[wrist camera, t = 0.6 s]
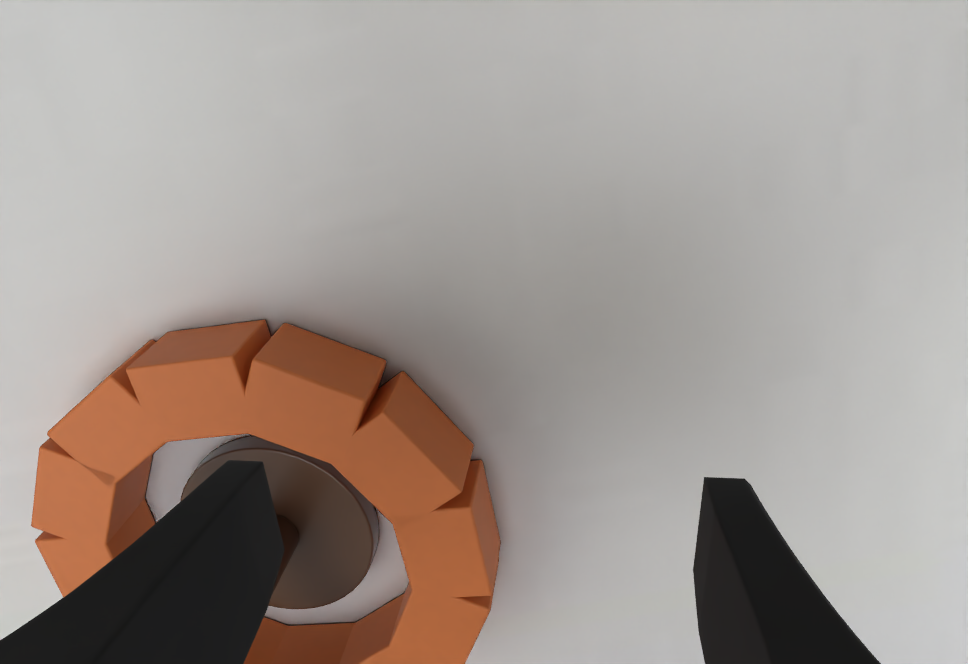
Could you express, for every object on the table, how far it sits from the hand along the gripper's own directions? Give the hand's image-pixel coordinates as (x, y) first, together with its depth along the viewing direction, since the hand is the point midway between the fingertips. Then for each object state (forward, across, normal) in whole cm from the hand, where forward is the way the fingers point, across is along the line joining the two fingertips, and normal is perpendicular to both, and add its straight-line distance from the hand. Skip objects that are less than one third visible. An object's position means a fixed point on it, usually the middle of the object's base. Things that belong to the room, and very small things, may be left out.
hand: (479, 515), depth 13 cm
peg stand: (+9, +8, +9) cm, 15 cm away
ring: (+9, +8, +9) cm, 15 cm away
